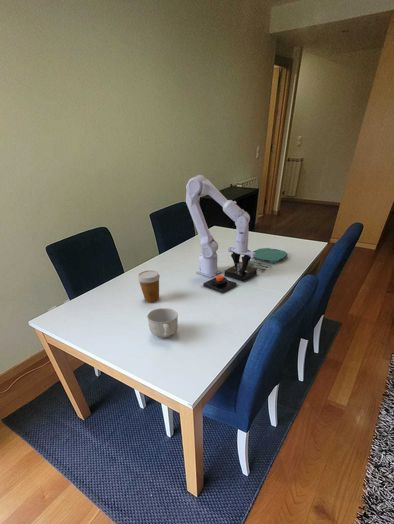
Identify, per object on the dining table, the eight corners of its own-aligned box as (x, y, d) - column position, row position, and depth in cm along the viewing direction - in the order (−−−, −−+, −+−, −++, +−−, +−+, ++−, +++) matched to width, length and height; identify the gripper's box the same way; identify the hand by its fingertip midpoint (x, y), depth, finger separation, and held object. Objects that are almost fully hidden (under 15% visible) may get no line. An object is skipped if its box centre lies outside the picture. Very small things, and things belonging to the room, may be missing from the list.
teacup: (151, 326, 113) (147, 308, 108) (178, 323, 113) (177, 305, 108) (149, 347, 102) (145, 328, 97) (180, 345, 102) (178, 325, 97)
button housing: (203, 286, 139) (203, 279, 137) (217, 279, 144) (217, 272, 142) (222, 293, 132) (222, 286, 130) (236, 286, 137) (236, 279, 135)
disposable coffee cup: (166, 295, 133) (163, 270, 126) (157, 305, 126) (153, 279, 119) (147, 293, 136) (143, 269, 128) (137, 303, 129) (132, 277, 121)
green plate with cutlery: (292, 255, 165) (293, 251, 164) (267, 273, 147) (267, 269, 146) (261, 249, 176) (261, 245, 174) (234, 265, 157) (234, 261, 156)
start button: (214, 280, 136) (214, 276, 135) (219, 277, 138) (219, 274, 137) (220, 282, 134) (220, 278, 133) (225, 279, 136) (225, 276, 135)
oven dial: (237, 271, 144) (237, 264, 141) (236, 268, 147) (236, 261, 145) (245, 271, 143) (245, 263, 141) (244, 267, 147) (244, 260, 144)
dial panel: (224, 276, 147) (224, 270, 146) (237, 269, 153) (237, 263, 152) (243, 282, 141) (243, 276, 139) (256, 274, 147) (257, 268, 145)
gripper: (259, 241, 135) (257, 269, 143) (234, 236, 143) (234, 263, 151) (250, 245, 131) (249, 274, 139) (225, 239, 139) (225, 267, 147)
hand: (240, 268), depth 145 cm, fingers closed on oven dial, 4 cm apart
